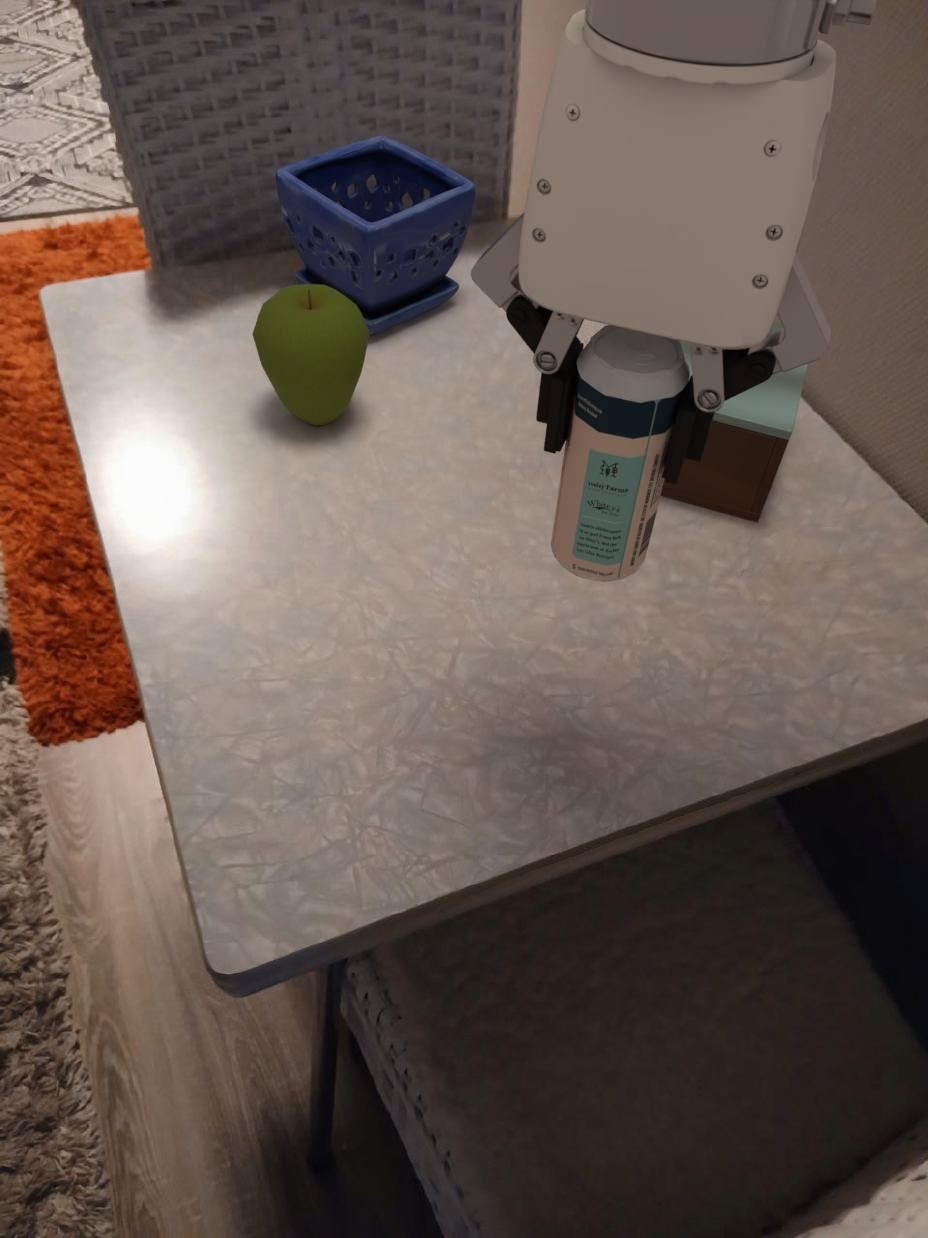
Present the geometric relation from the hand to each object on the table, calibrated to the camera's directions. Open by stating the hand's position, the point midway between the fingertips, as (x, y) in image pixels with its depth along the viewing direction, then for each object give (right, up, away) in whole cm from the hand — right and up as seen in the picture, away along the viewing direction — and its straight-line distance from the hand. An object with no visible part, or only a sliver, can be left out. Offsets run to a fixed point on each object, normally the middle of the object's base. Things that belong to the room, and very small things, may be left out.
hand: (617, 446), depth 44 cm
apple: (-19, +9, +36) cm, 42 cm away
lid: (+13, +12, +30) cm, 35 cm away
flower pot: (-15, +23, +49) cm, 56 cm away
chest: (+12, +6, +36) cm, 39 cm away
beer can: (0, -5, +5) cm, 7 cm away
